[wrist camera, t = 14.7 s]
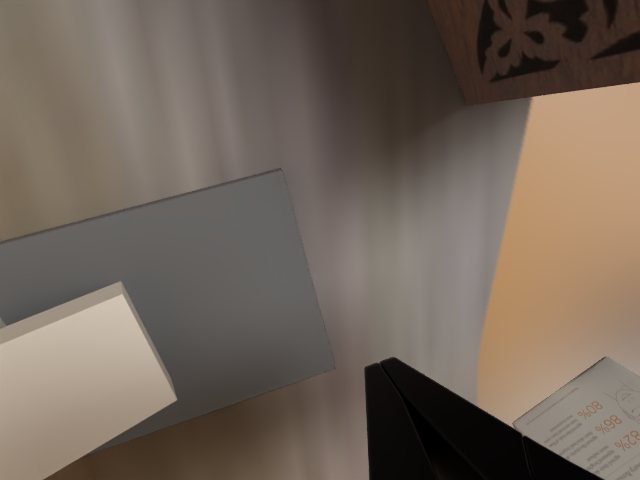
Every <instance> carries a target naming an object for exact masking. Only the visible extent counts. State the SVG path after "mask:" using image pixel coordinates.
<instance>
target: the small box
mask: <svg viewBox="0 0 640 480" xmlns="http://www.w3.org/2000/svg"><path fill="white" fill-rule="evenodd" d="M513 426H514V428H515V429H516V430H517V431H519V432H521V433H522V436H524V435H526V436H528V437H529V438H531V439H533V440H534V441H536V442H538V443H539V444H541V445H543V446H544V447H546V448H548V449H549V450H551V451H553V452H555V453H556V454H558V455H560V456H562V457H563V458H565V459H567V460H569V461H570V462H572V463H574V464H576V465H578V466H580V467H582V468H584V469H585V470H587V471H589V472H591V473H593V474H595V475H597V476H599V477H601V478H603V479H605V480H640V376H639V375H638V374H636V373H634V372H633V371H631V370H629V369H628V368H626V367H624V366H623V365H621V364H619V363H618V362H616V361H615V360H613V359H611V358H610V357H604V358H602V359H601V360H599V361H598V362H597V363H595V364H594V365H593V366H591V367H590V368H588V369H587V370H586V371H584V372H583V373H581V374H580V375H578V376H577V377H576V378H574V379H573V380H571V381H570V382H569V383H567V384H566V385H564V386H563V387H562V388H560V389H559V390H557V391H556V392H555V393H553V394H552V395H550V396H549V397H548V398H546V399H545V400H543V401H542V402H541V403H539V404H538V405H536V406H535V407H533V408H532V409H531V410H529V411H528V412H527V413H525V414H524V415H522V416H521V417H520V418H518V419H517V420H515V421H514V422H513Z"/></svg>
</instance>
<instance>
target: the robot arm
mask: <svg viewBox="0 0 640 480" xmlns="http://www.w3.org/2000/svg"><path fill="white" fill-rule="evenodd" d="M365 392H366V415H367V437H368V459H369V480H605V479H603V478H601V477H599V476H597V475H595V474H593V473H591V472H589V471H587V470H585V469H584V468H582V467H580V466H578V465H576V464H574V463H572V462H570V461H569V460H567V459H565V458H563V457H562V456H560V455H558V454H556V453H555V452H553V451H551V450H549V449H548V448H546V447H544V446H543V445H541V444H539V443H538V442H536V441H534V440H533V439H531V438H529V437H528V436H526V435H524V436H522V433H521V432H519V431H517V430H516V429H514V428H512V427H511V426H509V425H507V424H506V423H504V422H502V421H500V420H499V419H497V418H495V417H494V416H492V415H491V414H488V413H487V412H485V411H484V410H482V409H480V408H479V407H477V406H475V405H474V404H472V403H470V402H469V401H467V400H465V399H464V398H462V397H460V396H459V395H457V394H455V393H454V392H452V391H450V390H449V389H447V388H445V387H444V386H442V385H440V384H439V383H437V382H435V381H434V380H432V379H430V378H429V377H427V376H425V375H424V374H422V373H420V372H419V371H417V370H415V369H414V368H412V367H410V366H409V365H407V364H405V363H404V362H402V361H400V360H399V359H397V358H395V357H391V358H388V359H385V360H383V361H381V362H380V364H379V363H374V364H372V365H369V366H366V367H365Z"/></svg>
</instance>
